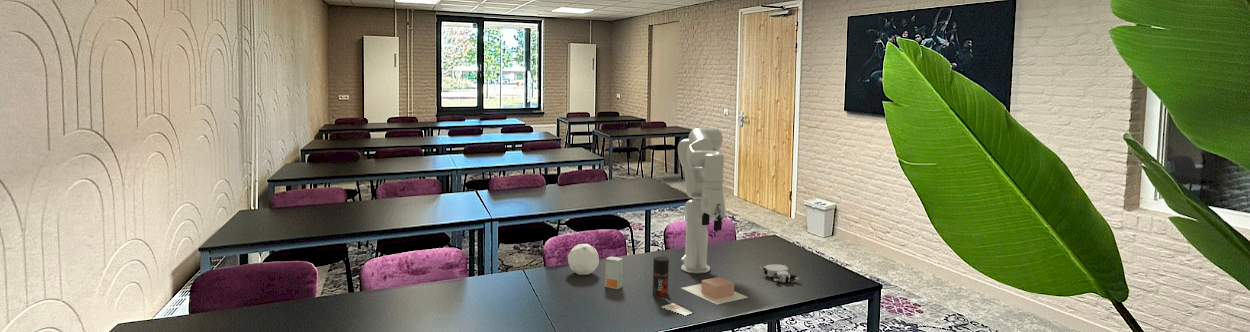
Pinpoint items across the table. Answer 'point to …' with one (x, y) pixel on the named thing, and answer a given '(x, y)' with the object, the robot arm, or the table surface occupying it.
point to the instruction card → (678, 309)
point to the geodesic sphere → (583, 259)
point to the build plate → (697, 291)
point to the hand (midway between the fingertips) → (711, 227)
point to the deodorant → (660, 277)
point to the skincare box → (614, 272)
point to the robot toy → (779, 273)
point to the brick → (717, 288)
